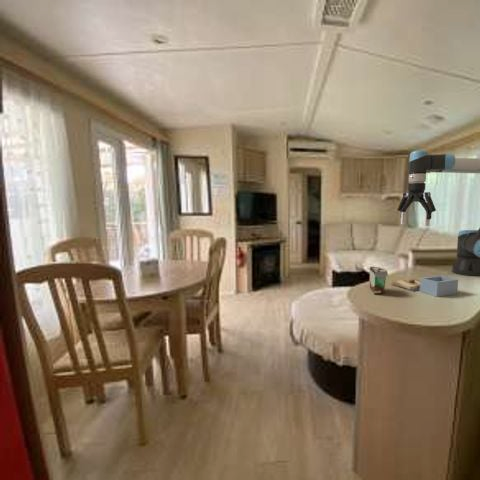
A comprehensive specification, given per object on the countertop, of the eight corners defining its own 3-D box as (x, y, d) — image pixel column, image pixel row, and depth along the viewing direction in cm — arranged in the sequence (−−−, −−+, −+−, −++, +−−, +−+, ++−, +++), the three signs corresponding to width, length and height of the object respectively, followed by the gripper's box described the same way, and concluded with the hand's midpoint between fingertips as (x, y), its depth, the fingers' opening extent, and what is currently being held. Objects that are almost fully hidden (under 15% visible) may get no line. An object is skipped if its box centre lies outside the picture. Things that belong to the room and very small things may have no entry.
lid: (412, 281, 152) (413, 276, 152) (431, 286, 142) (432, 281, 142) (392, 283, 147) (392, 278, 147) (410, 289, 138) (410, 284, 138)
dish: (439, 288, 141) (440, 275, 140) (457, 293, 133) (458, 279, 133) (419, 291, 137) (420, 278, 136) (436, 296, 129) (437, 282, 128)
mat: (410, 282, 153) (410, 280, 153) (433, 288, 141) (433, 286, 141) (391, 284, 148) (391, 283, 148) (413, 291, 137) (413, 289, 137)
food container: (390, 296, 131) (391, 272, 129) (374, 295, 132) (375, 272, 131) (383, 288, 143) (384, 266, 141) (368, 287, 144) (369, 266, 143)
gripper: (391, 184, 168) (389, 224, 170) (434, 181, 145) (432, 227, 147) (401, 184, 170) (400, 223, 173) (446, 181, 147) (443, 226, 150)
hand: (414, 225), depth 160 cm, fingers open, 13 cm apart
